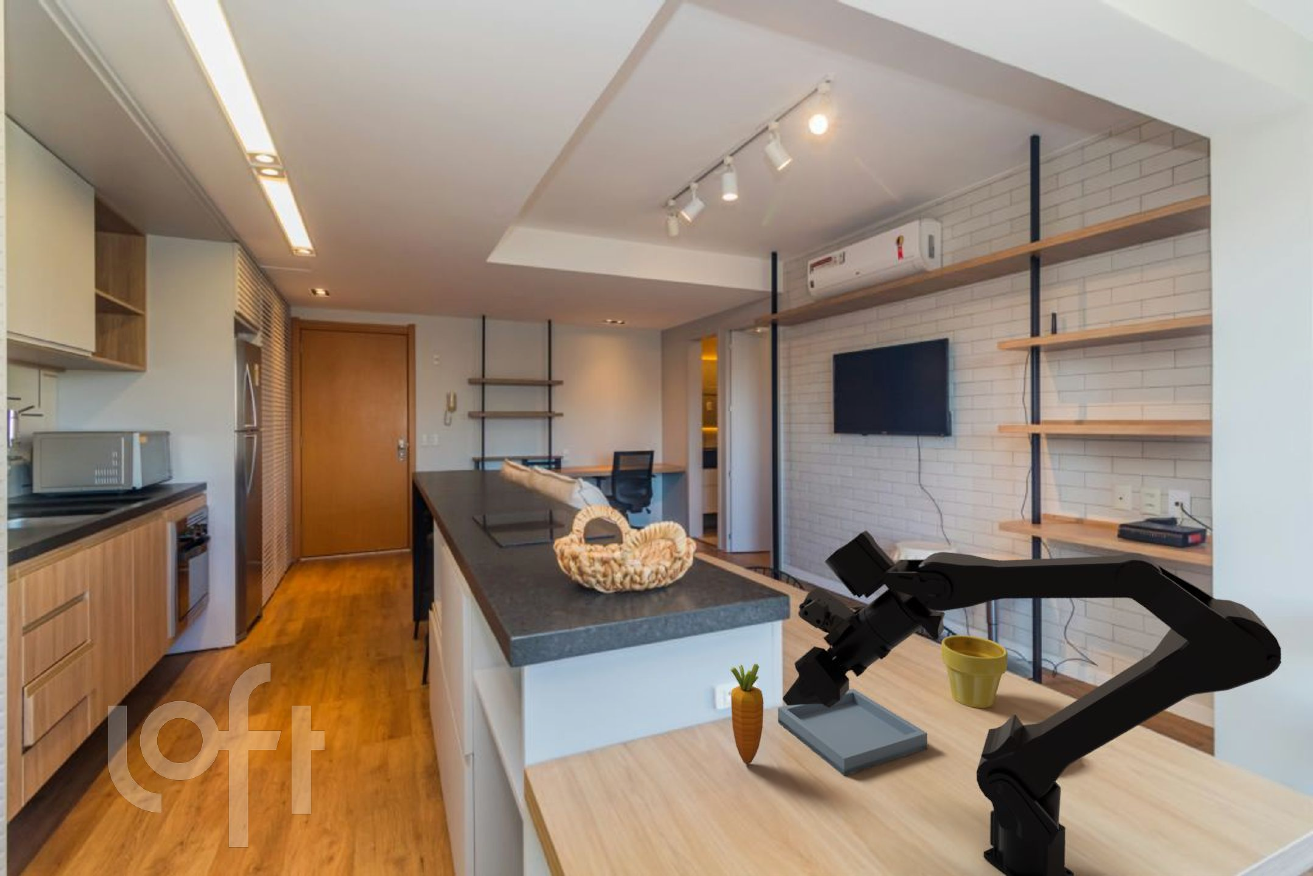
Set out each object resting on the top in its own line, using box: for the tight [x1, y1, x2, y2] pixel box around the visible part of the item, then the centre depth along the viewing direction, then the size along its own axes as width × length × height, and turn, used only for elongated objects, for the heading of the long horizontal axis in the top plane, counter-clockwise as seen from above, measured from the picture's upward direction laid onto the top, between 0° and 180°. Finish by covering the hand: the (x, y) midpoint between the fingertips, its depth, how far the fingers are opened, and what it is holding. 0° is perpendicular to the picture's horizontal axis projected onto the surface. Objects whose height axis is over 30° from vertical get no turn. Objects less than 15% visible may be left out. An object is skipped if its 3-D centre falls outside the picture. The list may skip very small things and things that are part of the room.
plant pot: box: [940, 634, 1008, 709], centre depth 106 cm, size 10×10×10 cm
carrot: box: [730, 663, 764, 766], centre depth 87 cm, size 5×5×15 cm
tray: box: [777, 688, 928, 777], centre depth 95 cm, size 16×16×2 cm
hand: (798, 688), depth 82 cm, fingers open, 9 cm apart
